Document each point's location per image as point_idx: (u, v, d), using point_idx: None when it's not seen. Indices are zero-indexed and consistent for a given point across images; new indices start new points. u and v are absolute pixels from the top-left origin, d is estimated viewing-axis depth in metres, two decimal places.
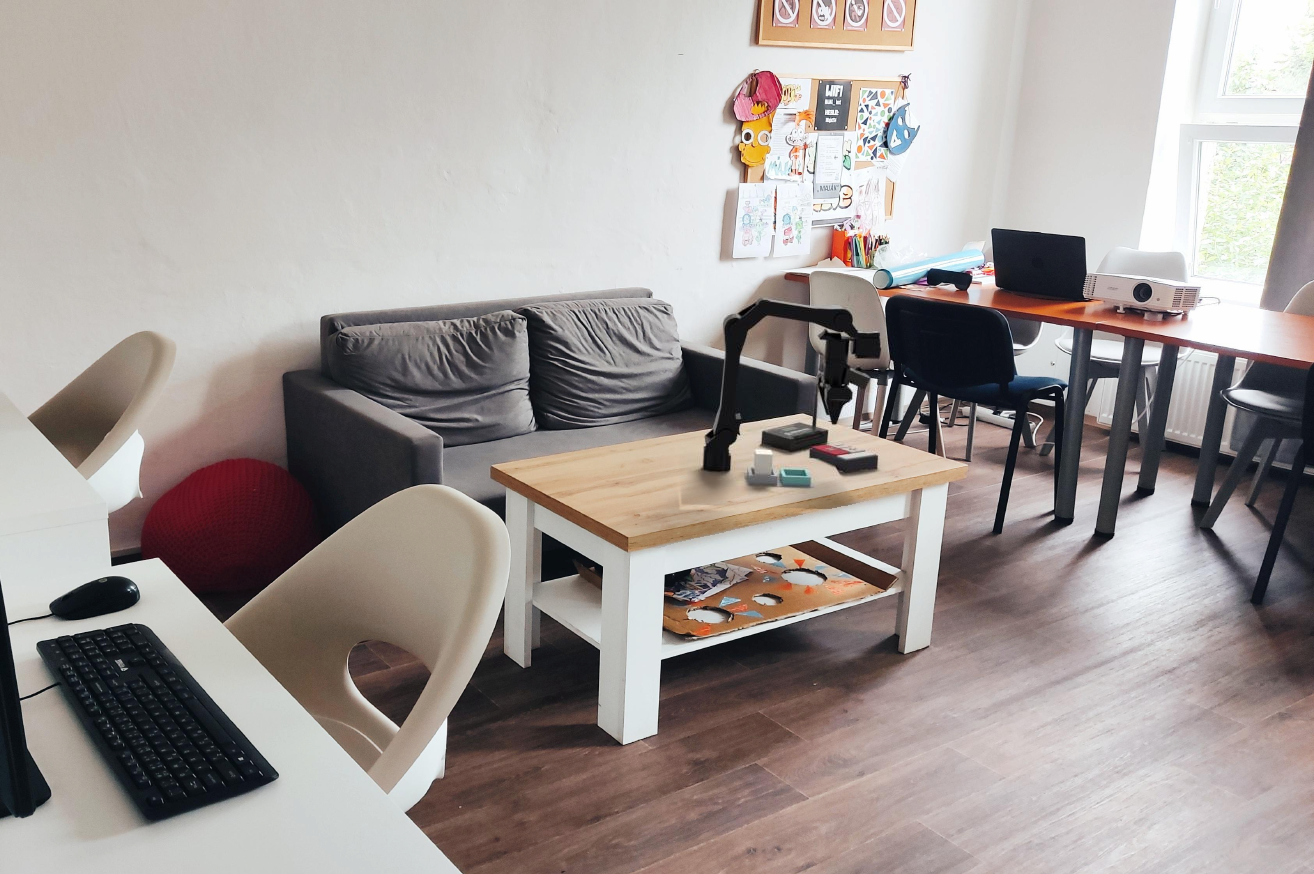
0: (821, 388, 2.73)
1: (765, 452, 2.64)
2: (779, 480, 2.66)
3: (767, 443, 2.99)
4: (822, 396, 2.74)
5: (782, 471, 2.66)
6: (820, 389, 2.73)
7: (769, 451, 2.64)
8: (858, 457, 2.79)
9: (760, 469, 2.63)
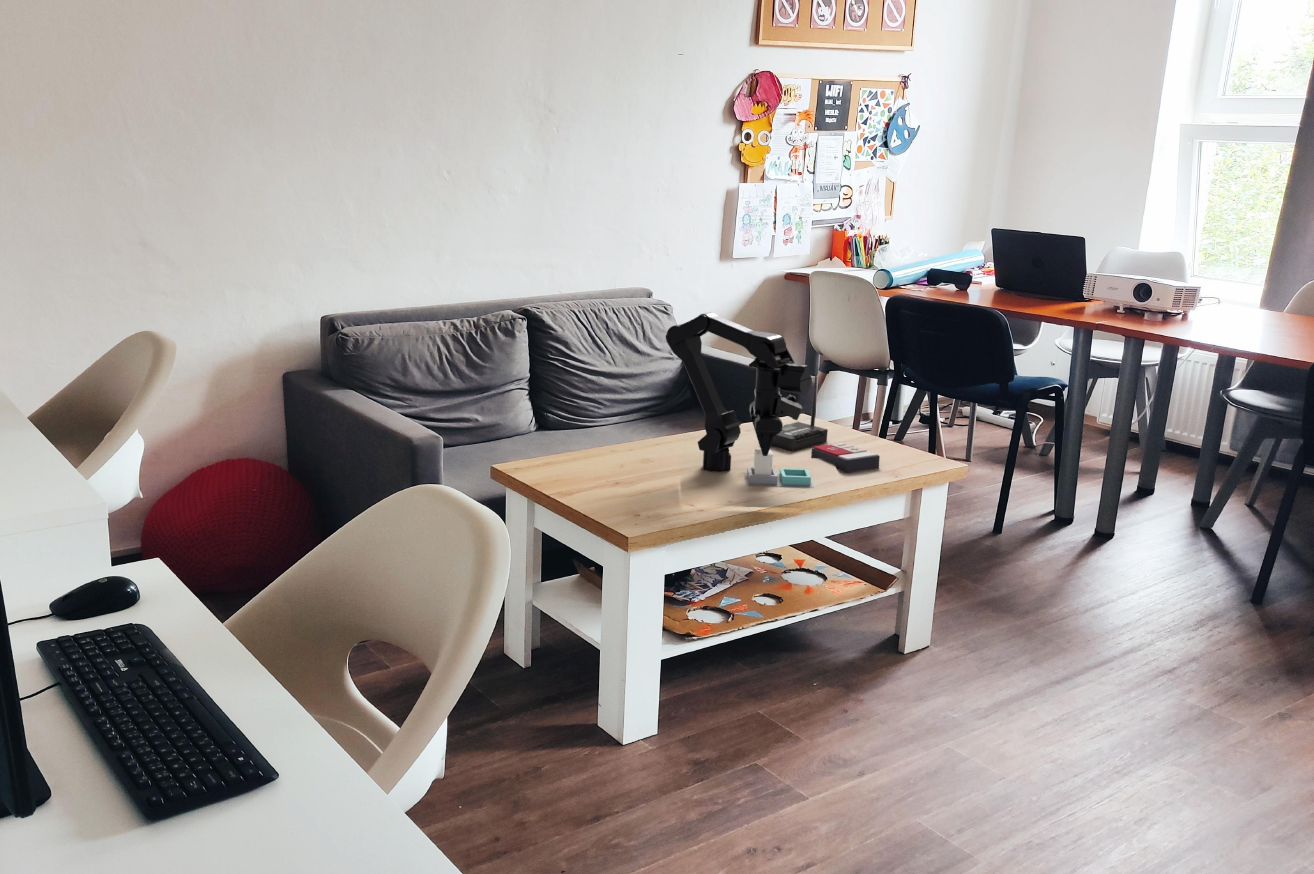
0: (754, 417, 2.67)
1: None
2: (779, 480, 2.66)
3: None
4: (755, 426, 2.68)
5: (782, 471, 2.66)
6: (753, 418, 2.67)
7: (769, 451, 2.64)
8: (859, 457, 2.79)
9: (760, 469, 2.63)
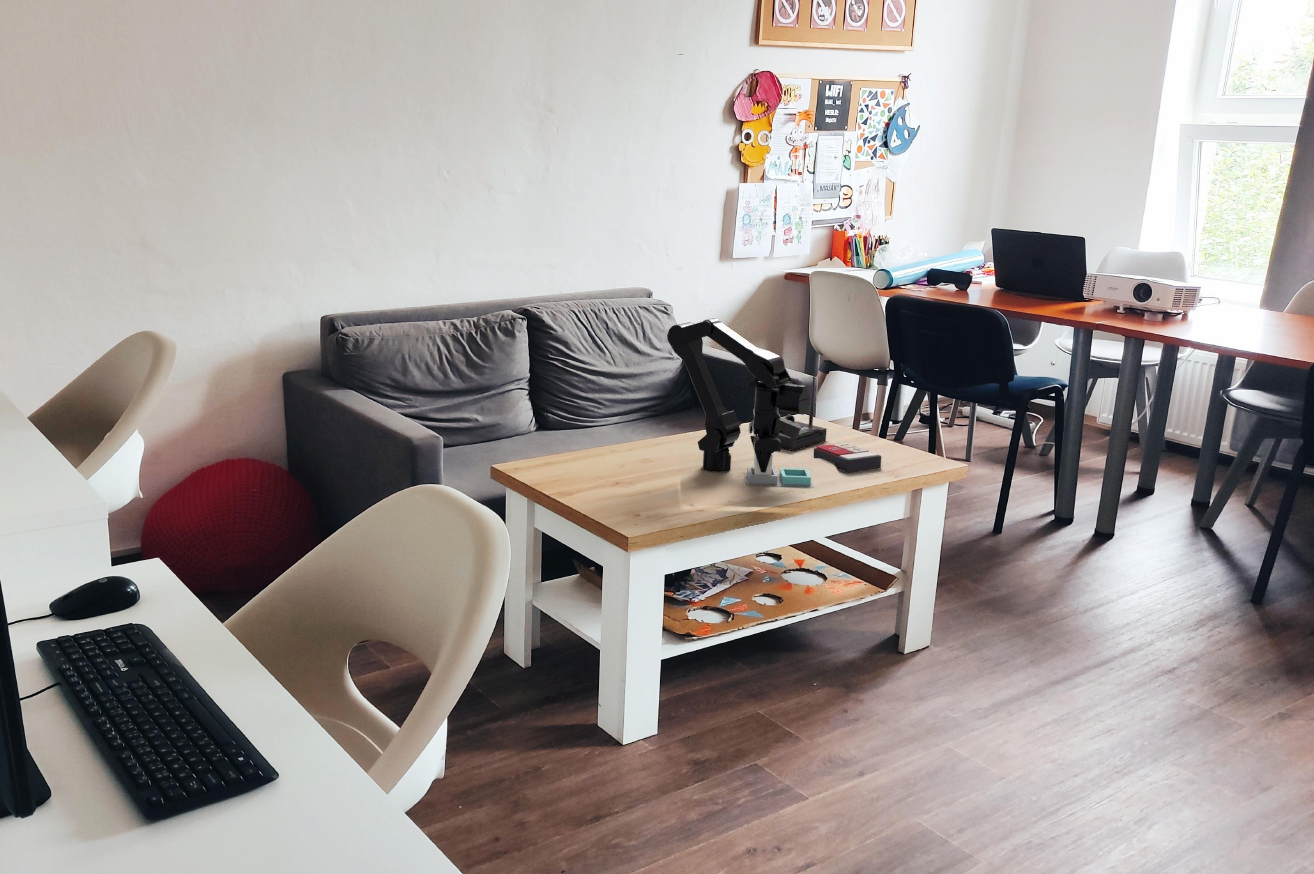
0: (754, 439, 2.66)
1: None
2: (779, 480, 2.66)
3: None
4: None
5: (782, 471, 2.66)
6: (753, 440, 2.66)
7: None
8: (860, 457, 2.79)
9: None
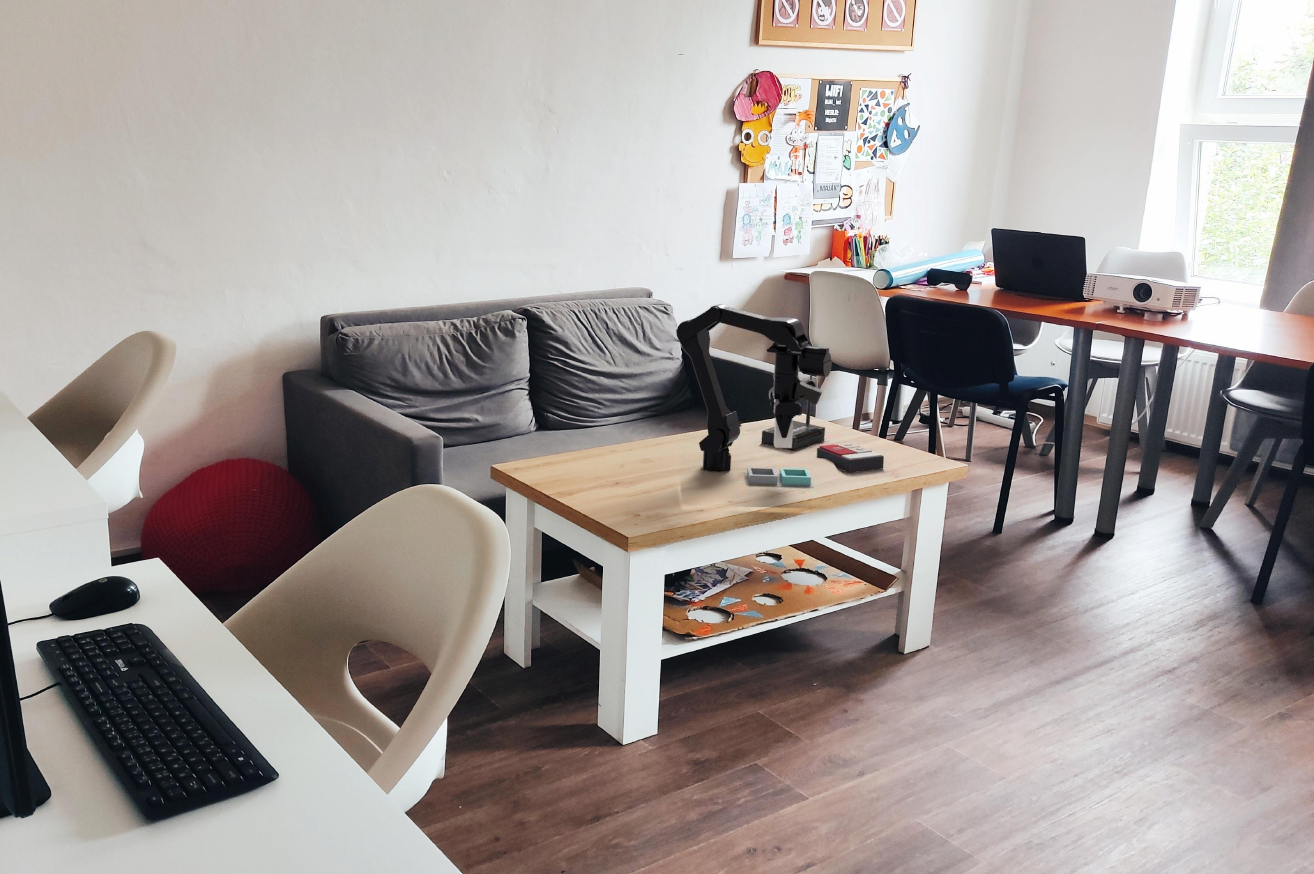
0: (774, 405, 2.64)
1: None
2: (779, 480, 2.66)
3: (768, 443, 3.00)
4: None
5: (782, 471, 2.66)
6: (773, 406, 2.64)
7: None
8: (862, 457, 2.79)
9: (780, 435, 2.61)
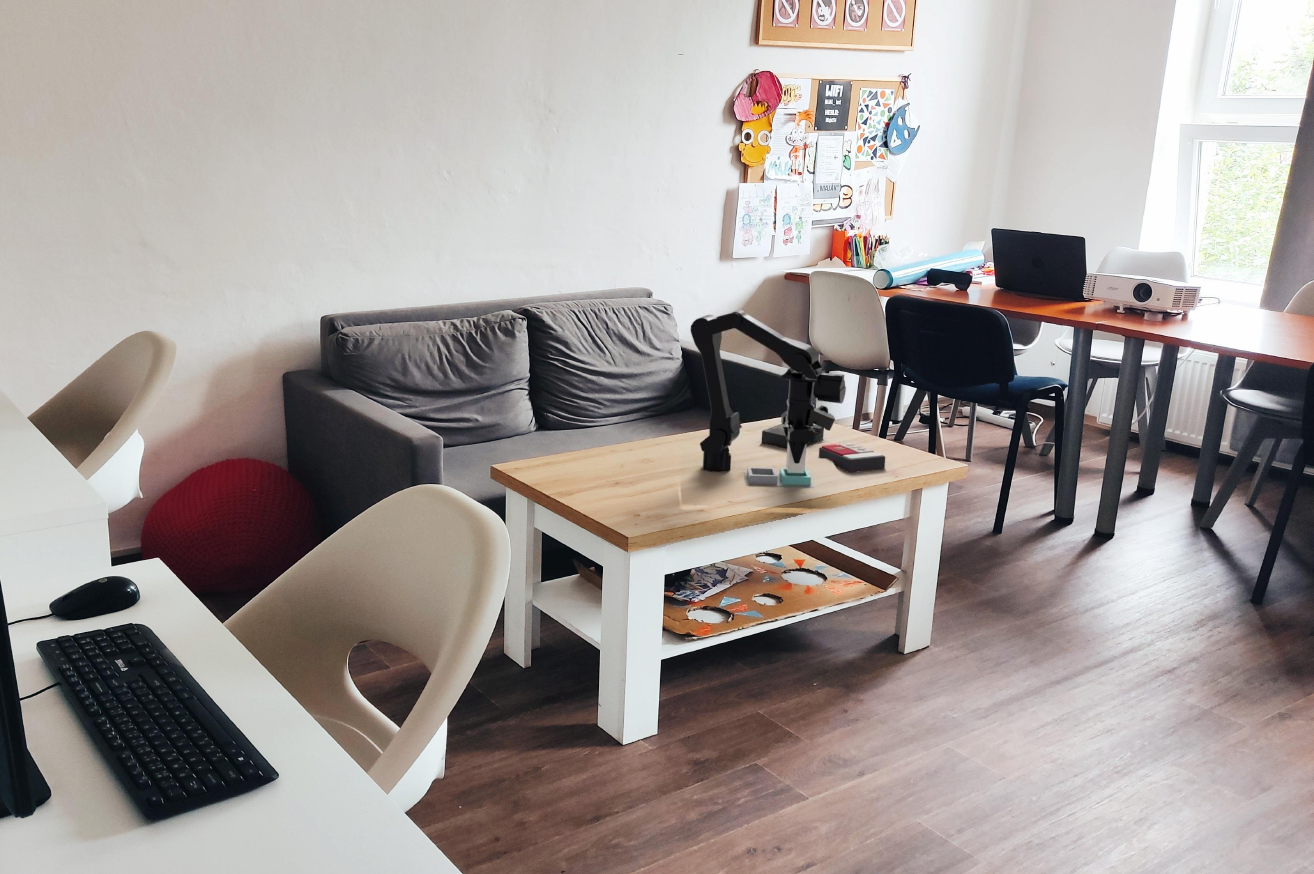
0: (787, 430, 2.66)
1: None
2: (779, 480, 2.66)
3: (768, 443, 3.00)
4: (788, 439, 2.66)
5: (782, 471, 2.66)
6: (786, 431, 2.66)
7: None
8: (864, 457, 2.79)
9: (793, 460, 2.63)
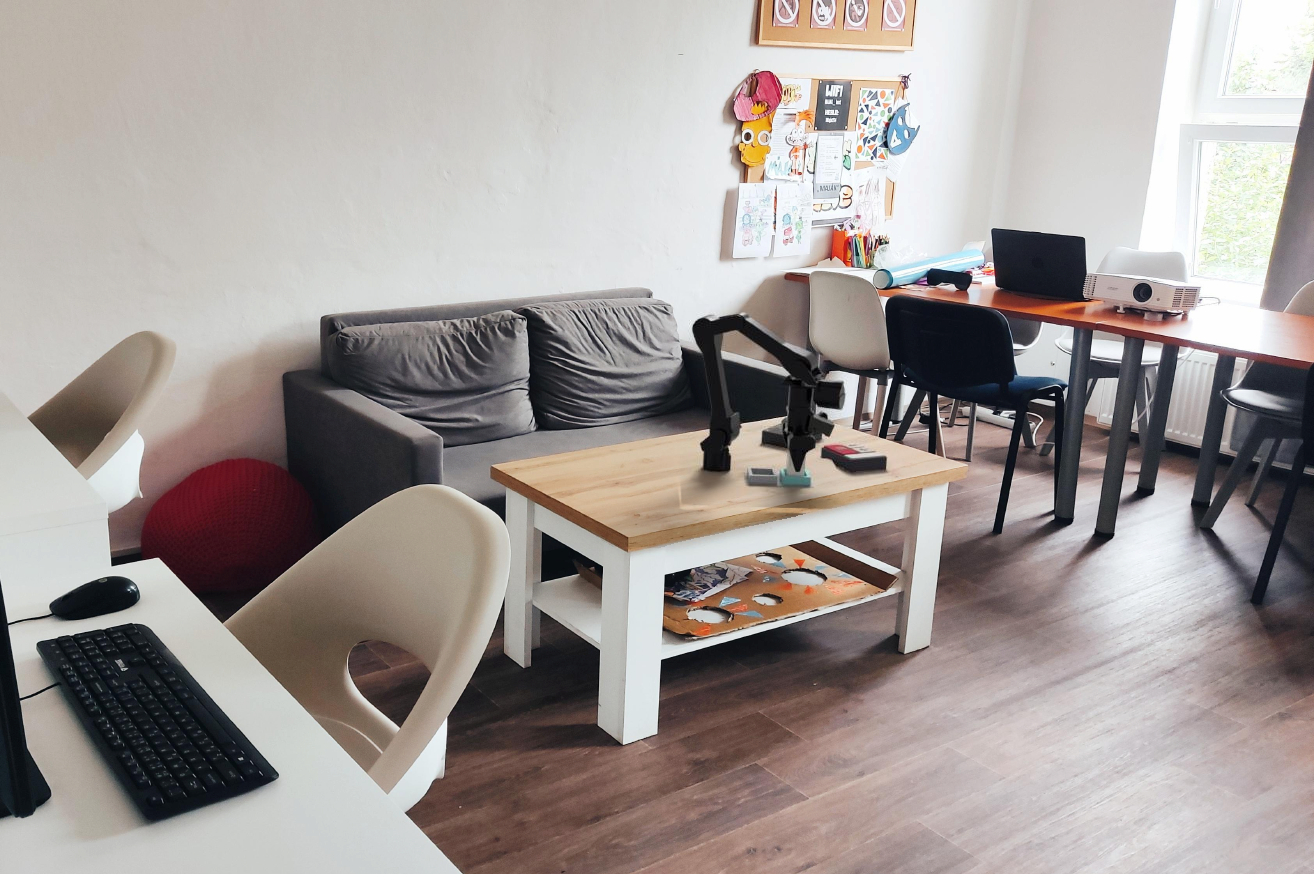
0: (786, 434, 2.68)
1: None
2: (779, 480, 2.66)
3: (768, 442, 3.00)
4: (787, 443, 2.68)
5: (782, 471, 2.66)
6: (785, 435, 2.68)
7: None
8: (865, 457, 2.79)
9: (793, 470, 2.63)
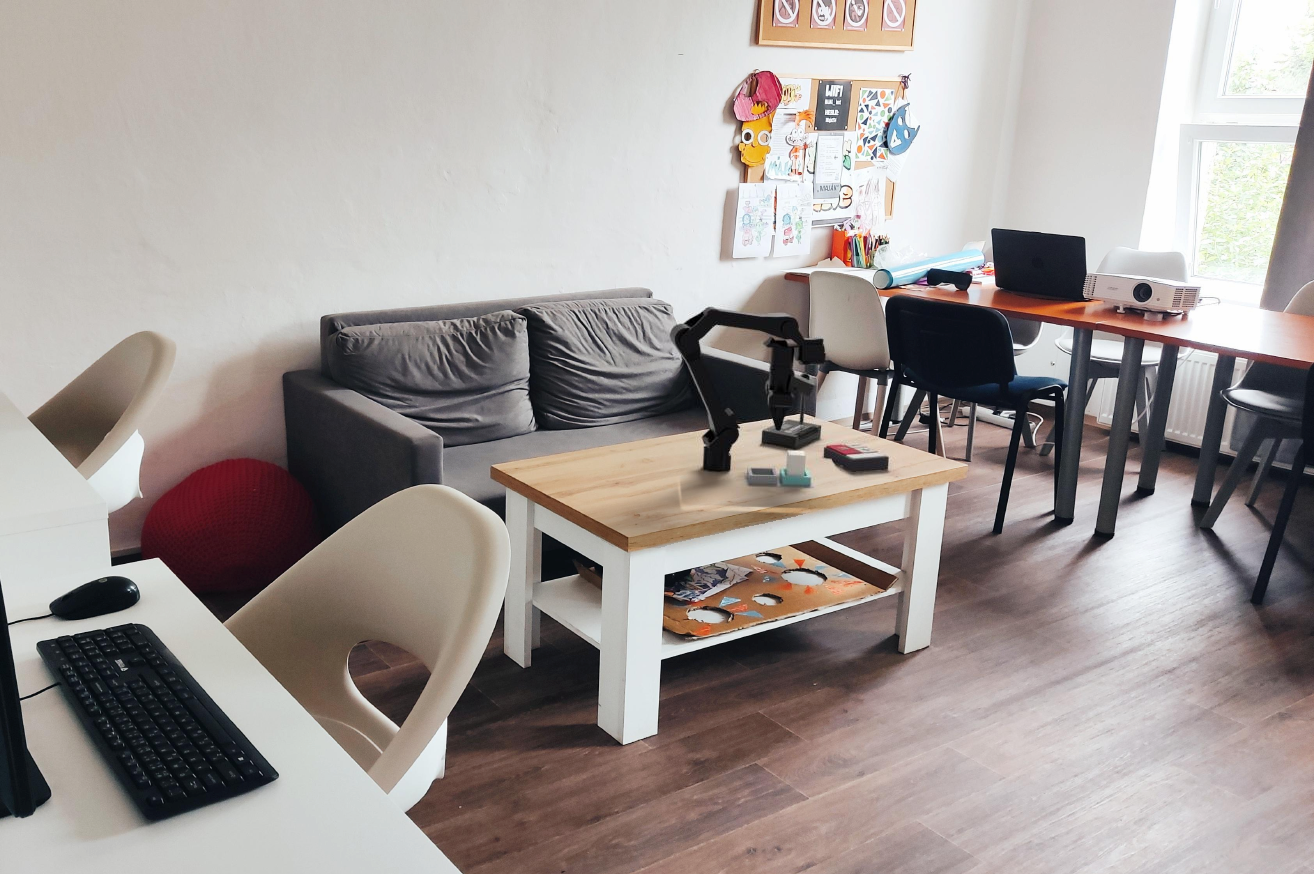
0: (769, 394, 2.77)
1: (798, 453, 2.64)
2: (779, 480, 2.66)
3: (768, 442, 3.00)
4: None
5: (782, 471, 2.66)
6: (768, 395, 2.77)
7: (802, 452, 2.64)
8: (866, 457, 2.79)
9: (793, 470, 2.63)
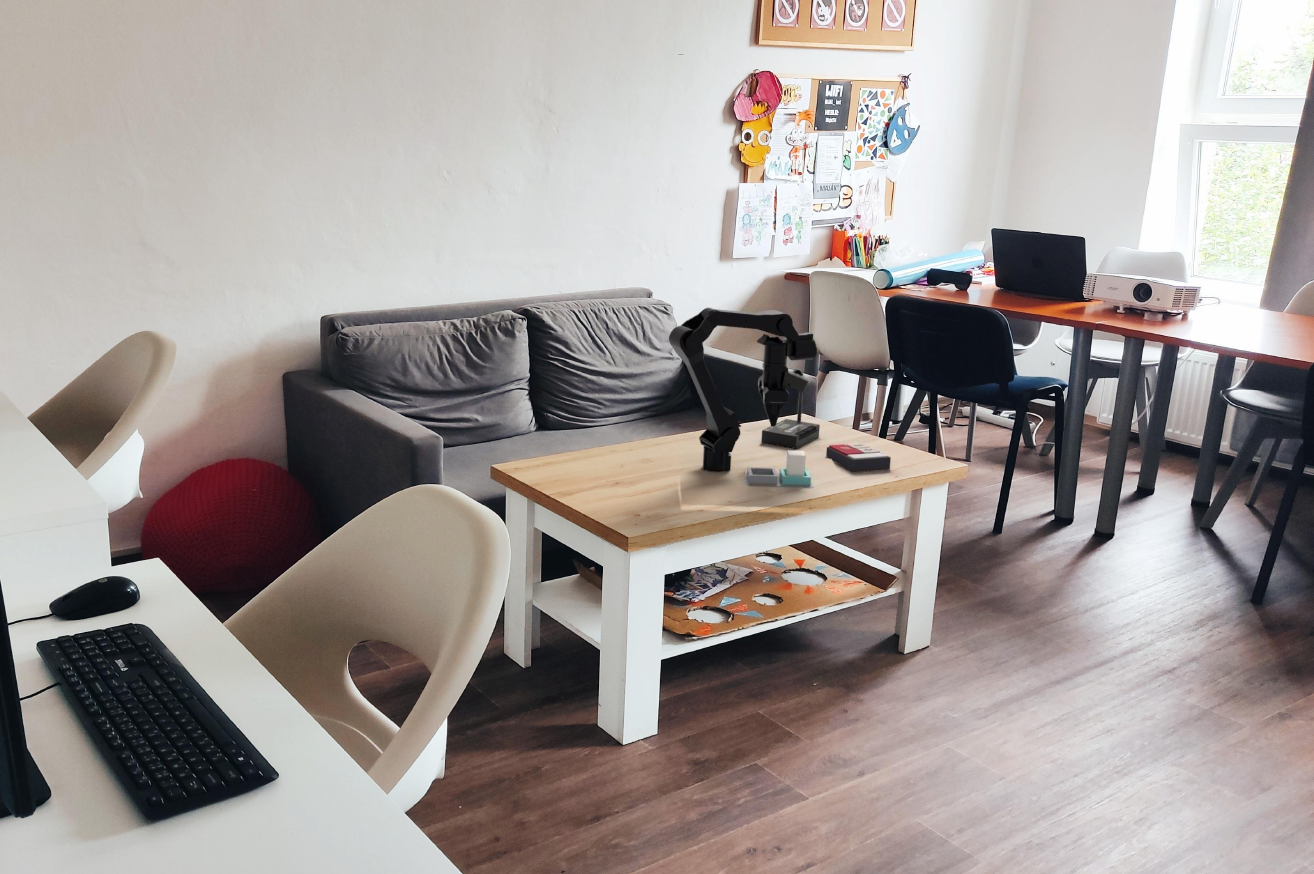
0: (762, 391, 2.80)
1: (798, 453, 2.64)
2: (779, 480, 2.66)
3: (768, 442, 3.01)
4: (763, 399, 2.80)
5: (782, 471, 2.66)
6: (761, 392, 2.80)
7: (802, 452, 2.64)
8: (868, 457, 2.79)
9: (793, 470, 2.63)
